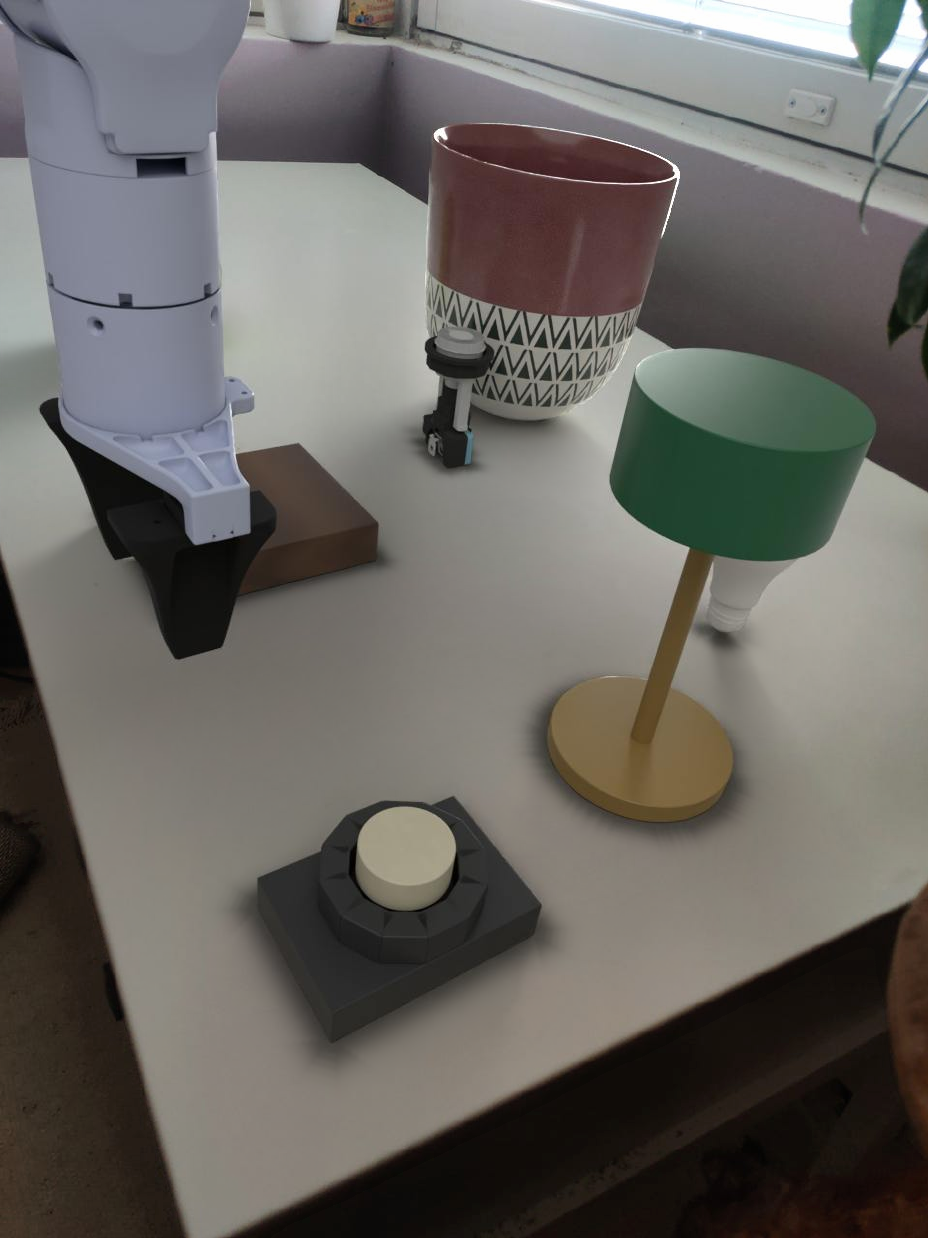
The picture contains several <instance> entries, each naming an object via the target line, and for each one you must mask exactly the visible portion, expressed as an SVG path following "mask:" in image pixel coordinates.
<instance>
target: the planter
mask: <svg viewBox="0 0 928 1238" xmlns="http://www.w3.org/2000/svg"><path fill="white" fill-rule="evenodd" d="M429 150H430V152H429V154H430V155H429V166H428V167H429V170H428V196H427V197H428V200H427V222H426V242H425V271H424V272H425V275H424V316H425V317H424V318H425V323H426V324H425V325H426V331H427V336H428V339H429V338H431V337H434V336H438V332H439V330H440V329H441V328H445V327H450V326H457V327H466V328H470V329H474V330H476V331H478V332H480V333H482V335H483V336H484V337H485V340H484V342H485V343H487V344H489V345H490V346H491V347H492V348H493V349H494V358H493V360H492V361H491V362H490V364H489V369H488V371H487V372H486V374H485V376H482V377H479V378H477V379H476V380H475V381H474V382H473V384H472V392H471V399H470V404H472V405H474V406H475V407H476V408H478V409H480V410H482V411H484V412H486V413H489V414H490V415H493V416H497V417H500V418H505V419H509V420H515V421H541V420H547V419H552V418H555V417H559V416H561V415H564V414H566V413H569V412H570V411H571V412H572V411H573V410H574V409H576V408H578V407H580V406H581V405H583V404H585V403H587V402H588V401H589V400H590V399H592V398H593V397H594V396H596V394H598V393H599V392H600V391H601V390H602V389H603V388H604V387H605V386H606V384H607V383H608V382H609V380H610V379H612V376H613V375H614V374H615V372H616V370H617V369H618V367H619V365H620V364H621V361H622V360H623V358H624V356H625V353H626V351H627V349H628V347H629V345H630V343H631V340H632V337H633V335H634V332H635V329H636V325H637V322H638V320H639V317H640V312H641V309H642V306H643V302H644V300H645V296H646V292H647V289H648V287H649V283H650V281H651V280H650V279H651V276H652V273H653V269H654V266H655V263H656V259H657V255H658V252H659V248H660V244H661V241H662V238H663V235H664V232H665V229H666V225H667V221H668V219H669V216H670V213H671V208H672V205H673V202H674V198H675V195H676V190H677V187H678V185H679V181H680V180H679V179H680V171H679V169H678V167H677V166H676V165H675V164H673V163H672V162H670V161H669V160H667V159H665V158H663V157H661V156H659V155H657V154H654V153H652V152H650V151H647V150H644V149H643V148H642V149H641V148H640V147H639V148H638V147H635V146H632V145H629V144H625V143H622V142H618V141H614V140H610V139H607V138H602V137H598V136H594V135H588V134H583V133H578V132H573V131H567V130H561V129H560V130H559V129H555V128H547V127H542V126H541V127H539V126H532V125H524V124H523V125H522V124H521V125H520V124H511V123H491V122H489V123H488V122H487V123H486V122H485V123H484V122H475V123H474V122H473V123H458V124H451V125H445V126H443V127H439V128H437V129H436V130H434V131H433V132H432V134H431V138H430V149H429Z"/></svg>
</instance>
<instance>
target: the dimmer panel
mask: <svg viewBox="0 0 928 1238" xmlns="http://www.w3.org/2000/svg"><path fill="white" fill-rule="evenodd" d="M236 460H237V465H238V468H239V471H240V473H241V474H242V476H243V477H244V479H245V480H246V481H247V483H248V484H249V485H250V492H253V491H258V490H261V492H262V493H263V494H264V495H265V496H266V497H267V498H268V500H269V501H270V502H271V503H272V504H273V505H274V506H275V508H276V510H277V525H276V531H275V532H274V533H273V534H272V535H271V537H270V538H269V539H268V540H267V541H266V543H265V544H264V545H263V547H262V548H261V549H260V551H259V552H258V554H257V555H256V557H255V558H254V560H253V562H252V563H251V565H250V567H249V569H248V571H247V573H246V575H245V577H244V580H243V582H242V585H241V587H240V590H239V593H238V596H240V595H245V594H248V593H249V594H250V593H253V592H257V591H260V590H264V589H269V588H273V587H276V586H281V585H285V584H288V583H293V582H296V581H300V580H304V579H308V578H312V577H316V576H320V575H324V574H327V573H332V572H336V571H340V570H343V569H347V568H351V567H355V566H359V565H364V564H368V563H371V562H375V561H377V553H378V542H379V541H378V540H379V528H380V523H379V521H378V520H377V519H376V518H375V517H374V516H373V515H371V513H370V512H369V511H368V510H367V509H366V508H365V507H364V506H363V505H361V503H360V502H359V501H358V500H357V499H356V498H354V496H353V495H352V494H351V493H350V492H349V491H348V490H347V489H346V488H345V487H344V485H343V486H342V484H341V483H340V482H339V481H338V480H337V479H336V478H335V477H334V476H333V475H332V474H331V473H330V472H329V471H328V470H327V469H326V468H325V467H324V466H323V465H322V464H321V463H320V462H319V461H318V460H317V459H316V458H315V457H314V456H313V455H312V454H311V453H310V452H309V451H308V450H307V449H306V448H305V447H304V446H303V445H302V444H301V443H300V442H296V443H291V444H285V445H279V446H273V447H267V448H262V449H255V450H250V451H244V452H239V453H236ZM121 560H122V561H123V563H129V562H134V561H136V560H135V558H134V557H129V558H124V559H121Z"/></svg>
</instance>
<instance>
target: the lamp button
mask: <svg viewBox="0 0 928 1238" xmlns="http://www.w3.org/2000/svg"><path fill="white" fill-rule="evenodd" d="M455 854H456V843H455V839H454V836H453V834H452V832H451V830H450V829H449V827H448V826H447V825H446V824H445V822H444V821H442V820H441V819H440V818H439V817H437V816H436V815H434V814H432V813H431V812H428V811H426V810H423V809H420V808H415V807H394V808H389V809H386V810H383V811H381V812H379V813H377V814H376V815H374V816H373V817H371V818H370V819H369V820H368V821H367V822H366V823H365V824H364V826H363V827H362V829H361V831H360V833H359V837H358V842H357V854H356V866H355V872H356V878H357V881H358V884H359V885H360V887H361V889H362V890H363V892H364V893H365V894H366V895H367V896H368V897H369V898H370V899H371V900H372V901H374V902H375V903H377V904H379V905H381V906H383V907H385V908H388V909H392V910H397V911H413V910H419V909H422V908H425V907H427V906H429V905H431V904H433V903H435V902H436V901H437V900H439V899H440V898H441V897H442V896H443V894H444V893H445V892H446V890H447V889H448V887H449V884H450V881H451V876H452V871H453V865H454V859H455Z"/></svg>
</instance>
